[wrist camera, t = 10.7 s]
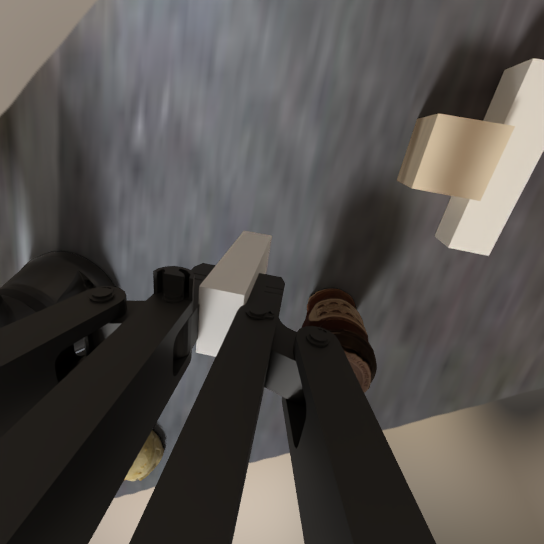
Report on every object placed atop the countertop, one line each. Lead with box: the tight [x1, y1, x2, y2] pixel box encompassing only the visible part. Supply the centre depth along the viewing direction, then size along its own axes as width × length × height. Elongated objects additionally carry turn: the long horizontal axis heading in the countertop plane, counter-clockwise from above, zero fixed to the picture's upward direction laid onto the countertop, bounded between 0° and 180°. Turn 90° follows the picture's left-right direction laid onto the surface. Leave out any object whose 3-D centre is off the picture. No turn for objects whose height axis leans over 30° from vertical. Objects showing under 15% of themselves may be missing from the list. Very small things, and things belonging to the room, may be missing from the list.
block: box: [397, 113, 515, 201], centre depth 27 cm, size 6×6×6 cm
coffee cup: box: [302, 289, 377, 392], centre depth 33 cm, size 9×8×13 cm
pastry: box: [124, 430, 164, 481], centre depth 54 cm, size 14×12×8 cm
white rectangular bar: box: [435, 58, 544, 256], centre depth 28 cm, size 4×16×4 cm, turn 171°
